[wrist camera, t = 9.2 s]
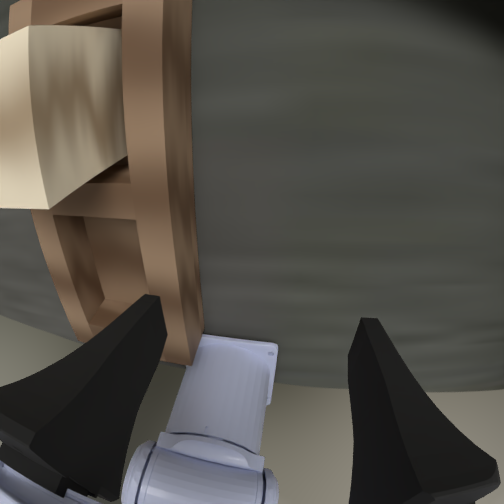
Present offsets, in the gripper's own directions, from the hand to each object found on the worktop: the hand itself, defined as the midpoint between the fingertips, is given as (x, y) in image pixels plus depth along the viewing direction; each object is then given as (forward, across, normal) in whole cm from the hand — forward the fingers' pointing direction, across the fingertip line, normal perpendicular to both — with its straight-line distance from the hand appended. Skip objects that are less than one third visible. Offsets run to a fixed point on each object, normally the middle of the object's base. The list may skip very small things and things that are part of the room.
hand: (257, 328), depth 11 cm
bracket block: (+8, +10, -8) cm, 15 cm away
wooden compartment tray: (+9, +10, -2) cm, 14 cm away
